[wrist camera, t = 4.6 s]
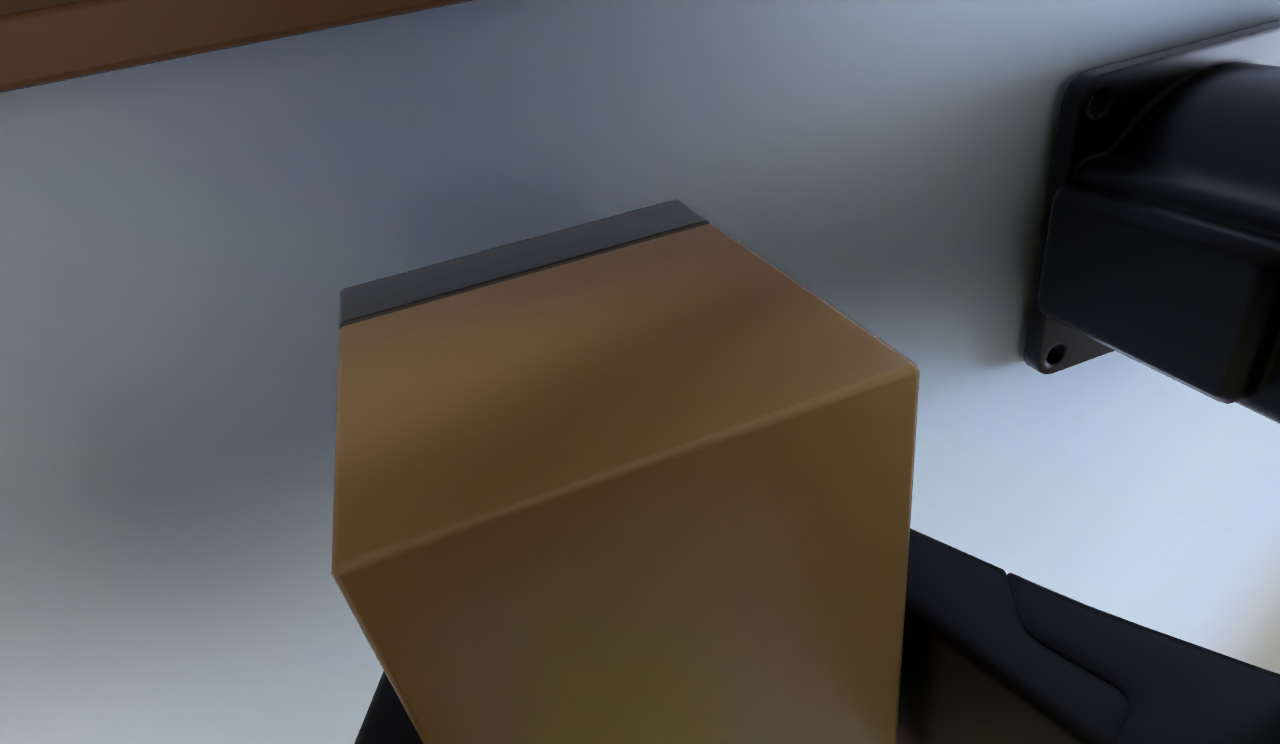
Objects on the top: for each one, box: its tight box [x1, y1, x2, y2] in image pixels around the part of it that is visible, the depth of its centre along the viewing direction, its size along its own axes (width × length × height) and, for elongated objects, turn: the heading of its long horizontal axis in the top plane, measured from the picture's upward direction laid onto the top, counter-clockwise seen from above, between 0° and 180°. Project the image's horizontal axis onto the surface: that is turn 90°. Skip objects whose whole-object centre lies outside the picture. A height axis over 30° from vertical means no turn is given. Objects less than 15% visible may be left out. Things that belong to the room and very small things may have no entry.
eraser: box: [331, 199, 919, 744], centre depth 8 cm, size 4×8×4 cm, turn 9°
